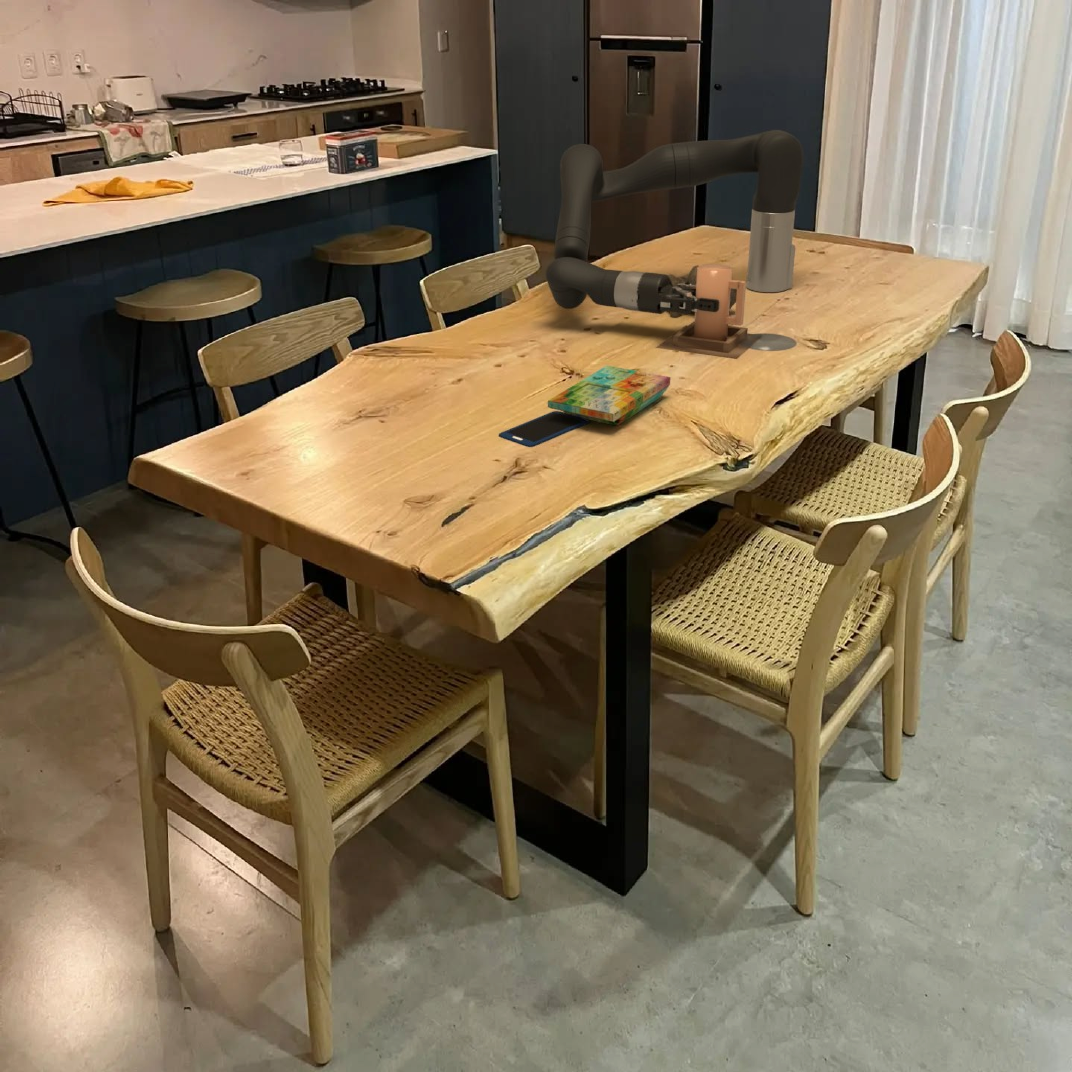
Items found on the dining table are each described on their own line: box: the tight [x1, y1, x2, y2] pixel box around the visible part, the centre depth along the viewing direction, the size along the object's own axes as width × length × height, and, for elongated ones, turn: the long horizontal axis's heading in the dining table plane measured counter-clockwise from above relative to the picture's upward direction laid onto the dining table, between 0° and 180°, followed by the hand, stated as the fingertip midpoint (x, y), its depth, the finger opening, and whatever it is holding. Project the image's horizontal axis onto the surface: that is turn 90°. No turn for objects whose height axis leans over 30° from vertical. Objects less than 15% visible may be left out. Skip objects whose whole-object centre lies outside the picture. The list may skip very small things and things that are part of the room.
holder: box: [655, 321, 761, 360], centre depth 206 cm, size 16×16×2 cm
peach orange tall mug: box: [693, 263, 747, 342], centre depth 202 cm, size 9×6×14 cm
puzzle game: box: [547, 365, 671, 427], centre depth 176 cm, size 12×5×20 cm
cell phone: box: [498, 410, 589, 448], centre depth 169 cm, size 7×14×1 cm, turn 137°
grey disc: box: [740, 332, 798, 352], centre depth 205 cm, size 11×11×1 cm
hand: (724, 301), depth 201 cm, fingers closed on peach orange tall mug, 6 cm apart
